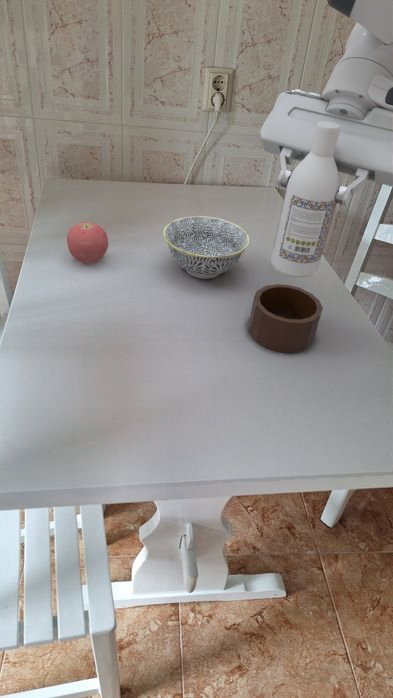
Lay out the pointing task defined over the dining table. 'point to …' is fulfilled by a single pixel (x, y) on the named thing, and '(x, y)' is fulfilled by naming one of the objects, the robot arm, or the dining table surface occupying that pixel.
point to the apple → (87, 242)
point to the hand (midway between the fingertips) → (310, 193)
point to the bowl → (205, 244)
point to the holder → (284, 318)
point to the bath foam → (308, 206)
